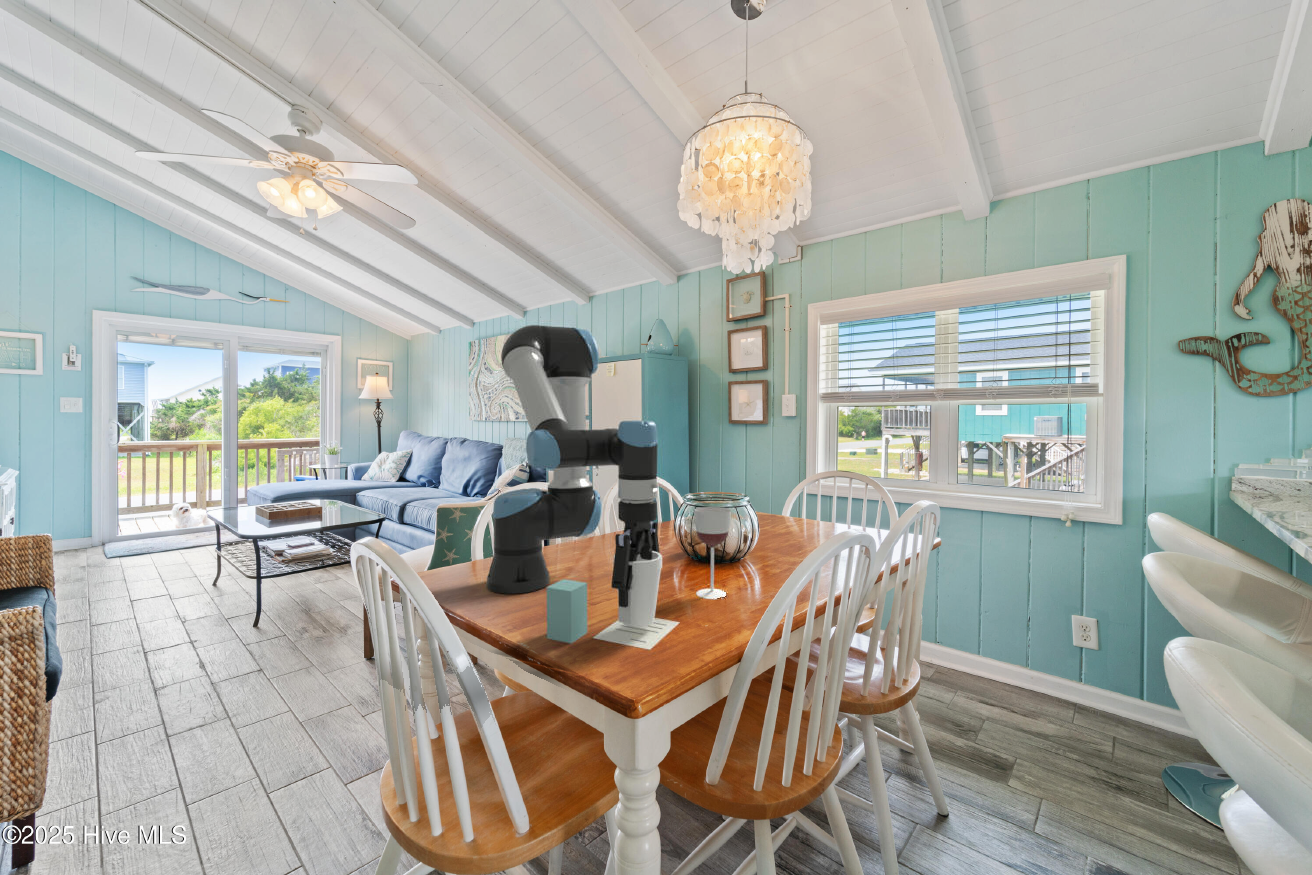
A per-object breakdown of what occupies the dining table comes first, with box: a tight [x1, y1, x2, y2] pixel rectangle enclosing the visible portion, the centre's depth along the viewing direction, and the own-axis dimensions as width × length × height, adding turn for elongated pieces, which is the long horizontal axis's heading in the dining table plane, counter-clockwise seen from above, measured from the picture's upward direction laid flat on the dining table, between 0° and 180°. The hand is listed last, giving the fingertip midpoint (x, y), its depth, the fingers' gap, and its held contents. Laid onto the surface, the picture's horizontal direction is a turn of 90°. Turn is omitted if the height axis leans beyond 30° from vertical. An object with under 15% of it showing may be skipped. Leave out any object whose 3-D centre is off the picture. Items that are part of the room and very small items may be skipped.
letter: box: [592, 617, 680, 651], centre depth 107 cm, size 12×14×1 cm
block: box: [546, 579, 588, 644], centre depth 104 cm, size 6×6×10 cm
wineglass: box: [693, 506, 732, 600], centre depth 128 cm, size 8×9×20 cm
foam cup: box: [613, 551, 663, 627], centre depth 106 cm, size 10×9×13 cm
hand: (637, 613), depth 106 cm, fingers closed on foam cup, 9 cm apart
